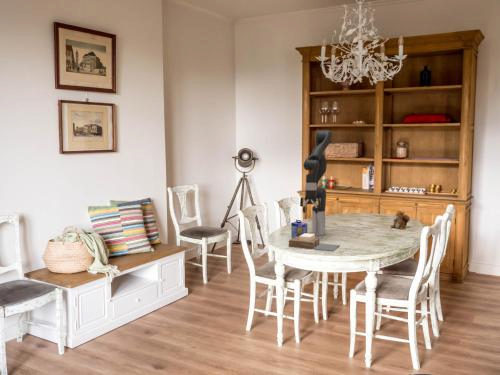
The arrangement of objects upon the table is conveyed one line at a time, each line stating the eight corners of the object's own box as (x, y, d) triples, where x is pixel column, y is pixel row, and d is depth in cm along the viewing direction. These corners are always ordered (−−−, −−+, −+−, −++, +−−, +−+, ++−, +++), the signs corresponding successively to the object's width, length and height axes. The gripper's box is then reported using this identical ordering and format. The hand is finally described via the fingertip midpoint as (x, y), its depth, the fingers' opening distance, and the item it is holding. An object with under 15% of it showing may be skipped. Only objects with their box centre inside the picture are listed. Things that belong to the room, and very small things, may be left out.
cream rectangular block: (304, 237, 324) (304, 233, 324) (314, 238, 321) (314, 234, 321) (299, 240, 315) (299, 236, 315) (309, 241, 312) (309, 237, 312)
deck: (296, 242, 329) (296, 236, 329) (319, 244, 322) (319, 238, 322) (288, 246, 317) (288, 240, 317) (312, 249, 310) (312, 242, 309)
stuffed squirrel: (389, 228, 373) (389, 210, 371) (400, 225, 381) (401, 208, 379) (400, 230, 365) (400, 212, 363) (411, 227, 373) (412, 210, 371)
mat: (320, 244, 323) (320, 243, 323) (339, 246, 317) (339, 245, 317) (312, 249, 309) (312, 248, 309) (333, 251, 304) (333, 250, 304)
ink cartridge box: (290, 240, 335) (290, 219, 333) (295, 238, 339) (295, 218, 337) (303, 242, 329) (303, 220, 327) (307, 240, 333) (307, 219, 331)
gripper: (322, 189, 335) (322, 213, 336) (302, 188, 341) (302, 211, 342) (319, 190, 328) (318, 214, 329) (299, 189, 334) (298, 212, 335)
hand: (310, 213), depth 335 cm, fingers open, 8 cm apart
